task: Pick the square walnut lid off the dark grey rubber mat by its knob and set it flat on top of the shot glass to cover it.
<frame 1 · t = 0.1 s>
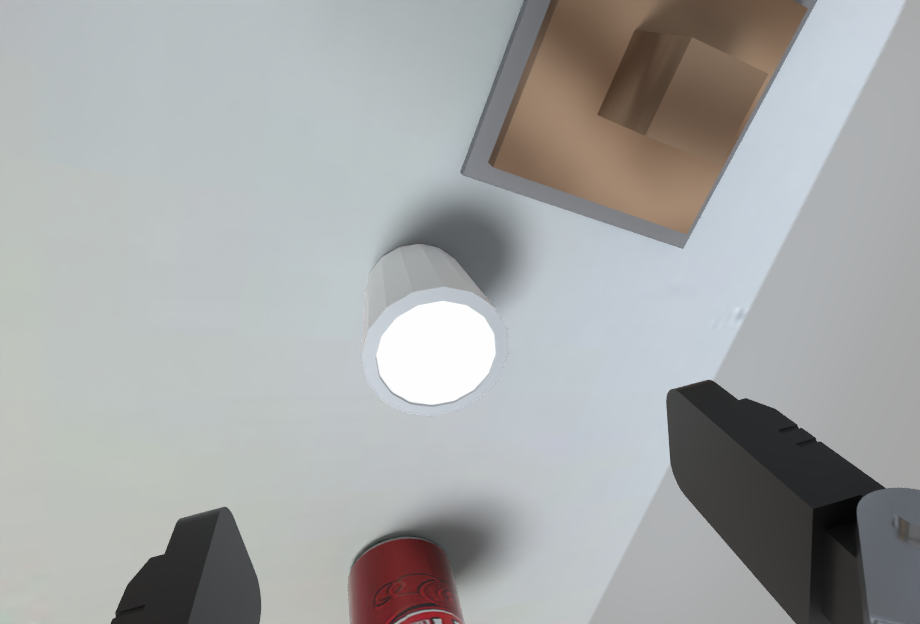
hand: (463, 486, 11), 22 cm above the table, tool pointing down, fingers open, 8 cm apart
mat: (634, 84, 31), on the table
lid: (640, 85, 31), point 1 cm above the table, touching mat
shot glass: (415, 289, 34), on the table
soda can: (398, 566, 44), on the table
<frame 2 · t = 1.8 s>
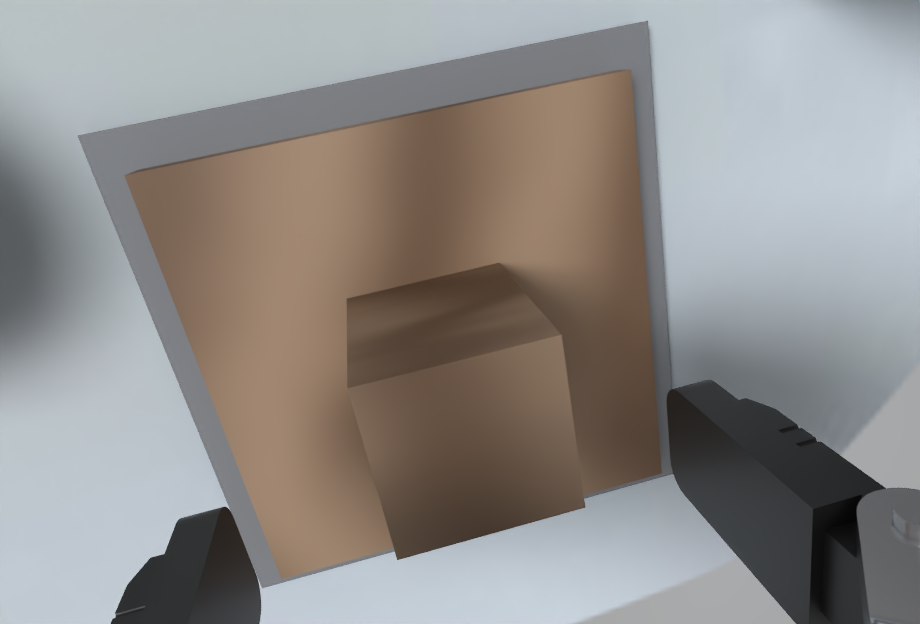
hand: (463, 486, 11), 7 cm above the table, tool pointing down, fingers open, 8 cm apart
mat: (431, 328, 18), on the table
lid: (433, 335, 17), point 1 cm above the table, touching mat
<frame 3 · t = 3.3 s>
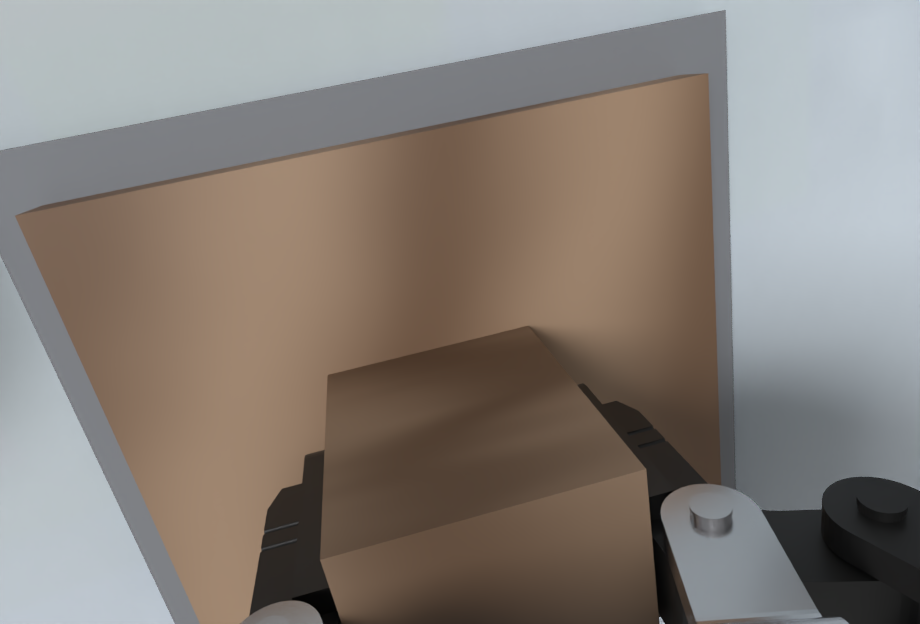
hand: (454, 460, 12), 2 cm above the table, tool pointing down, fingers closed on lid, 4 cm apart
mat: (437, 400, 14), on the table
lid: (441, 413, 13), point 1 cm above the table, touching gripper, mat
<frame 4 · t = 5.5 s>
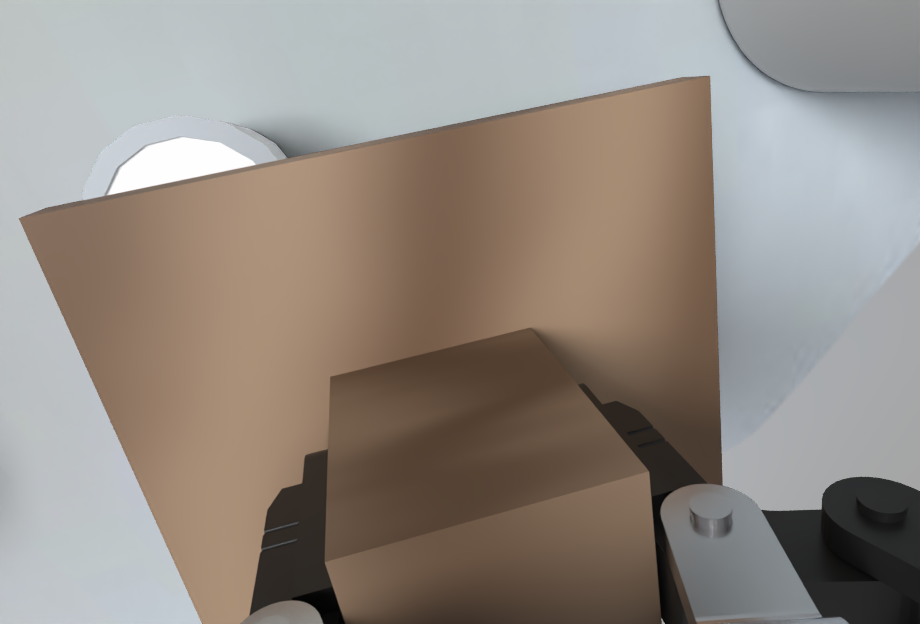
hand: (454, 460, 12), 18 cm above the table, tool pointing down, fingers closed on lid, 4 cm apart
lid: (443, 414, 14), point 16 cm above the table, touching gripper
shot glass: (234, 192, 26), on the table
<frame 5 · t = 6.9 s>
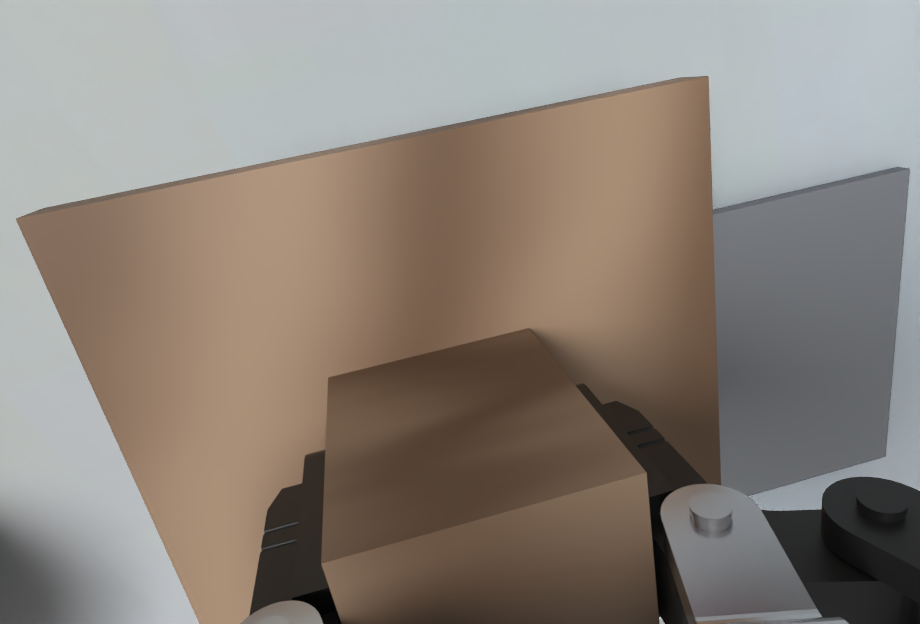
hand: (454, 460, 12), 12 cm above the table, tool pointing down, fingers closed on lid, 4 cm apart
mat: (744, 358, 27), on the table
lid: (441, 415, 14), point 10 cm above the table, touching gripper
when the fingers open (10 cm above the table, at t = 7.9 s): lid drops 2 cm, resting on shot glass.
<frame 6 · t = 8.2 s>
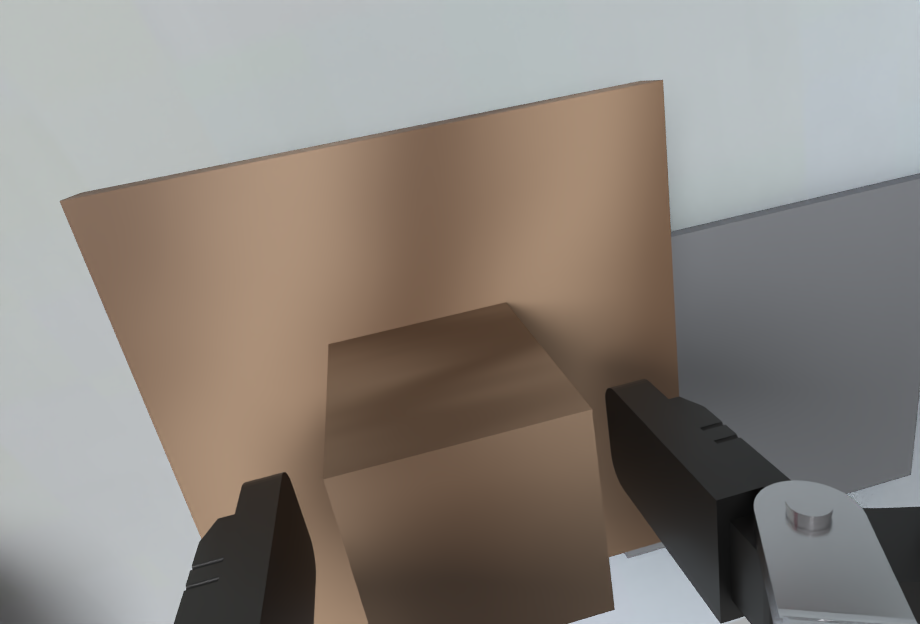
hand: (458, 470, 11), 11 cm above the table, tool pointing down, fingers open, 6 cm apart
mat: (764, 373, 26), on the table
lid: (429, 382, 15), point 7 cm above the table, touching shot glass
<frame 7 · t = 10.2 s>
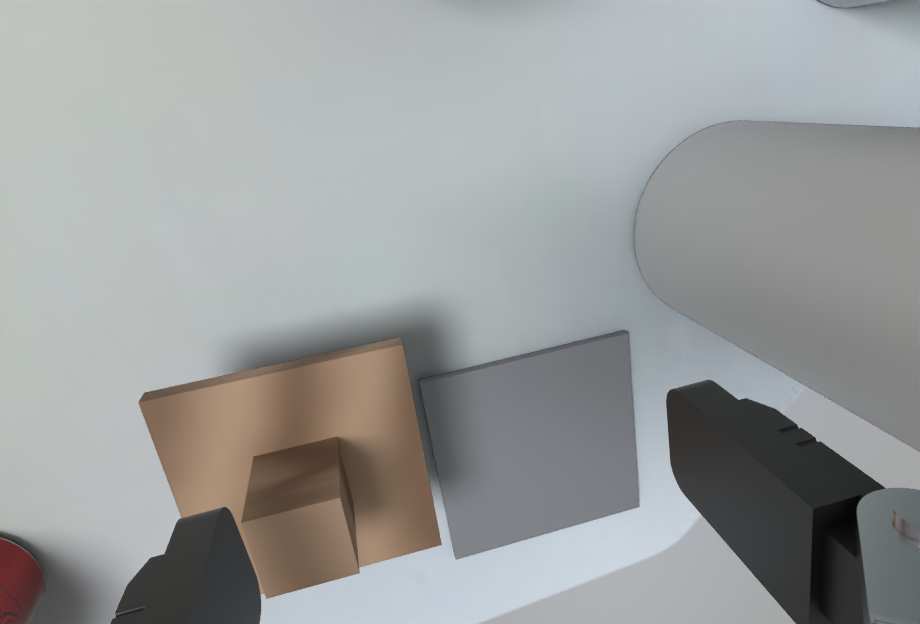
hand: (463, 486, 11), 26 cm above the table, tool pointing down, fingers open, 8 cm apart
mat: (536, 445, 42), on the table
lid: (305, 469, 31), point 7 cm above the table, touching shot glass
cylinder vase: (716, 220, 40), on the table
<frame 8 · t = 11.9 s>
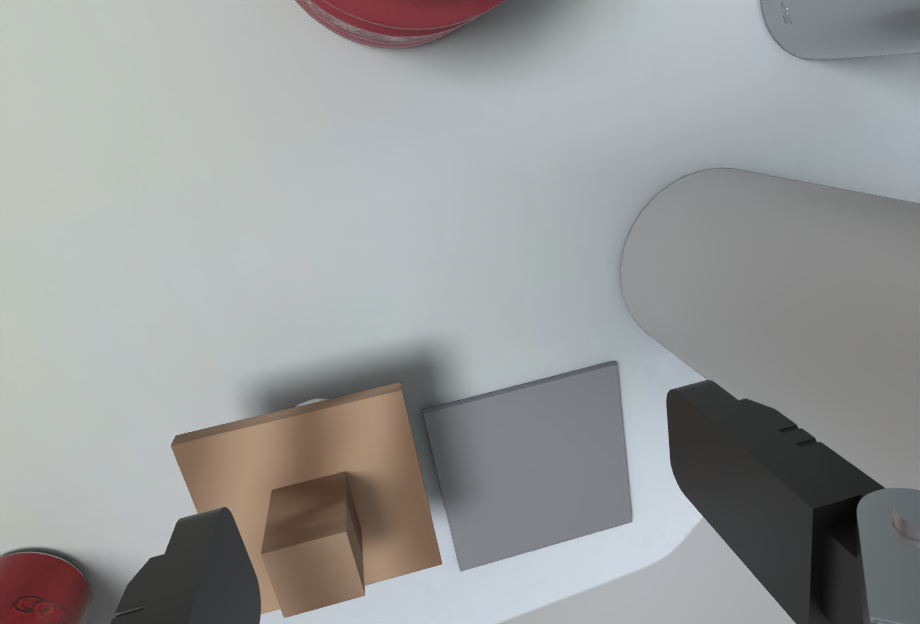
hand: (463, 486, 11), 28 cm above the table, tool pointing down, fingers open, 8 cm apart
mat: (533, 467, 45), on the table
lid: (318, 498, 35), point 7 cm above the table, touching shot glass
soda can: (36, 587, 41), on the table
cylinder vase: (699, 258, 42), on the table
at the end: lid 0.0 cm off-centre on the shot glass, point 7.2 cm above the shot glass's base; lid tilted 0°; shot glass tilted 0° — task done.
